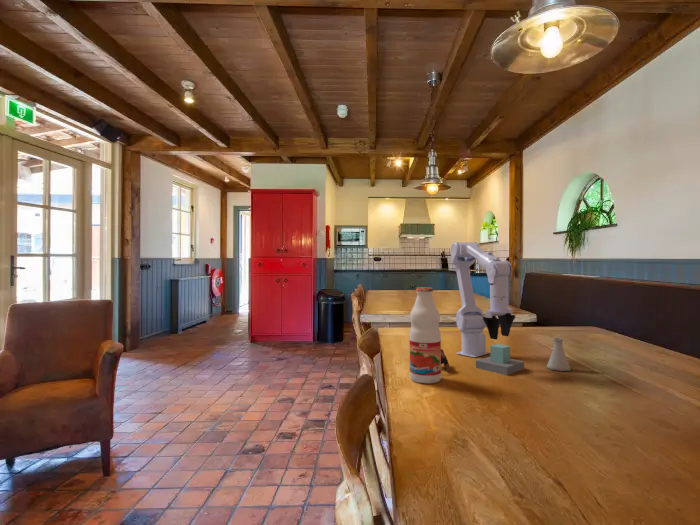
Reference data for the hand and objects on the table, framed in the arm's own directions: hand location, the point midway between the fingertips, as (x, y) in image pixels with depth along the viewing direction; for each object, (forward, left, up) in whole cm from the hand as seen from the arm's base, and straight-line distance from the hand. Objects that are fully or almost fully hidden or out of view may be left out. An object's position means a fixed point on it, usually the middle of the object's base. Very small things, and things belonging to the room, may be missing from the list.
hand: (499, 337), depth 125 cm
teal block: (0, 0, -8) cm, 8 cm away
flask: (-14, +13, -11) cm, 22 cm away
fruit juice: (+28, -9, -11) cm, 31 cm away
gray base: (0, 0, -11) cm, 11 cm away
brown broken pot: (+16, -14, -11) cm, 24 cm away
